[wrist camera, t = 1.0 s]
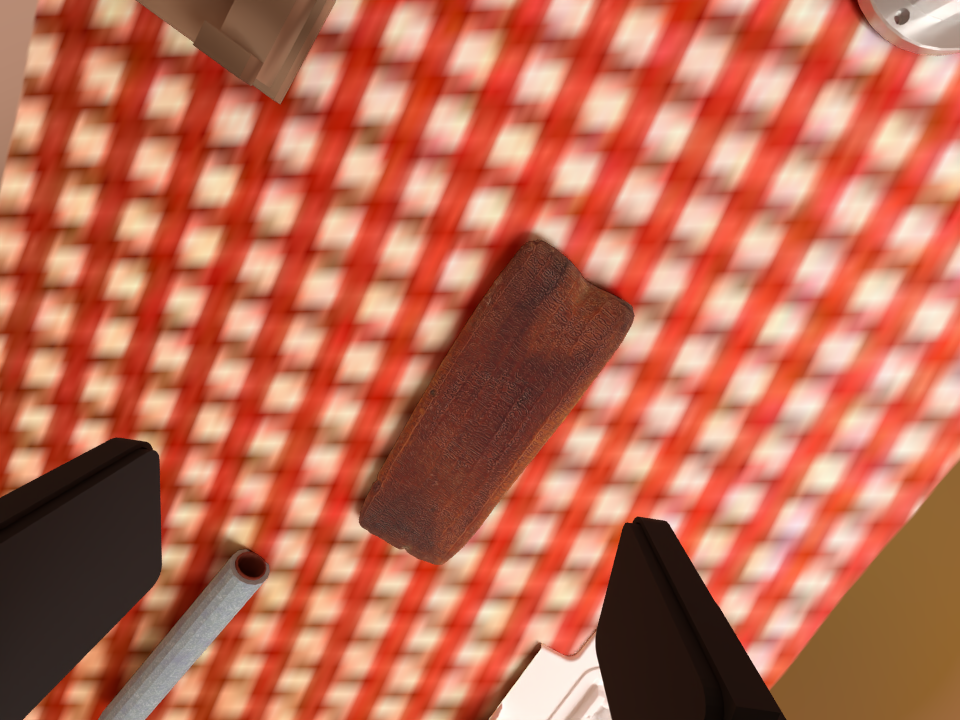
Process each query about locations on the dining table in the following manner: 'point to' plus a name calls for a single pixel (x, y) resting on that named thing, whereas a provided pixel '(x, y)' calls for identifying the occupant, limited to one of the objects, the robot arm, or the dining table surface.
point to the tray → (558, 688)
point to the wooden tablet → (494, 402)
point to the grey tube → (189, 637)
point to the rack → (250, 35)
